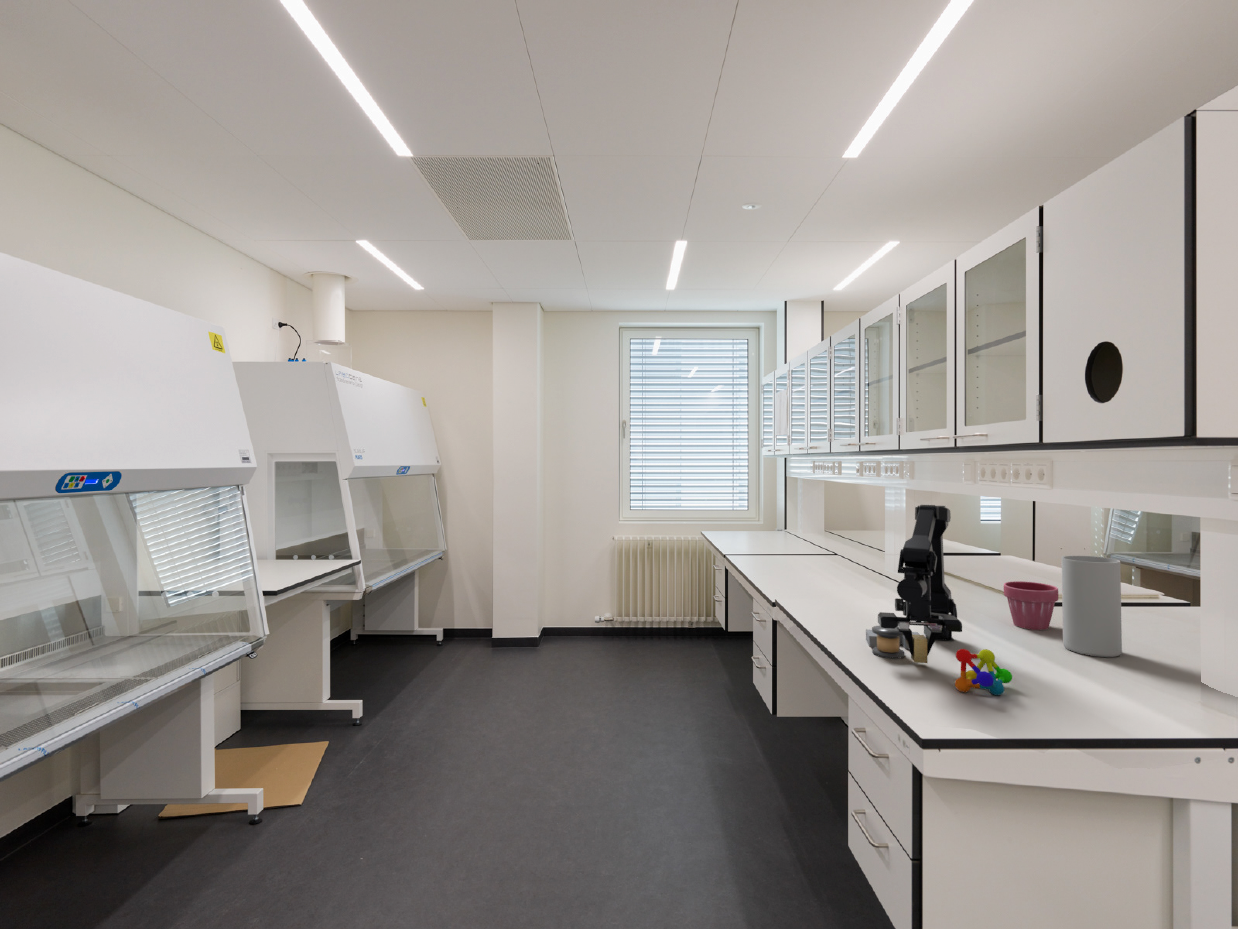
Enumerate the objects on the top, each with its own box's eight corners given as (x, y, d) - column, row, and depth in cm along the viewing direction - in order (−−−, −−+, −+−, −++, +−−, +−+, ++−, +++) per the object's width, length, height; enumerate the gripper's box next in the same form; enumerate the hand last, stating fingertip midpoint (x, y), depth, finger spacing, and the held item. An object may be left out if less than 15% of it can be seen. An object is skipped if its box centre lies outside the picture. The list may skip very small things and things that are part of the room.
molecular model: (1020, 715, 129) (984, 683, 124) (972, 709, 138) (938, 679, 132) (1023, 667, 135) (990, 634, 130) (978, 664, 143) (945, 634, 138)
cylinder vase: (1134, 656, 155) (1132, 561, 155) (1096, 660, 153) (1094, 563, 153) (1087, 642, 167) (1086, 554, 167) (1051, 645, 165) (1050, 556, 165)
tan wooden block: (923, 658, 152) (923, 635, 152) (927, 663, 148) (927, 639, 148) (911, 657, 153) (910, 634, 153) (914, 662, 149) (914, 638, 149)
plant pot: (1044, 635, 175) (1043, 592, 175) (994, 624, 187) (994, 584, 187) (1068, 628, 182) (1067, 586, 182) (1019, 618, 194) (1018, 579, 194)
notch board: (917, 642, 169) (917, 632, 169) (923, 650, 163) (923, 639, 163) (865, 639, 173) (865, 629, 173) (869, 646, 166) (869, 636, 166)
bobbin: (901, 650, 163) (900, 626, 163) (907, 659, 155) (907, 634, 155) (870, 648, 165) (869, 624, 165) (874, 657, 157) (874, 632, 157)
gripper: (949, 589, 156) (950, 648, 156) (873, 586, 161) (874, 643, 161) (962, 598, 145) (963, 662, 145) (880, 595, 150) (881, 656, 150)
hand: (919, 655), depth 151 cm, fingers closed on tan wooden block, 3 cm apart
